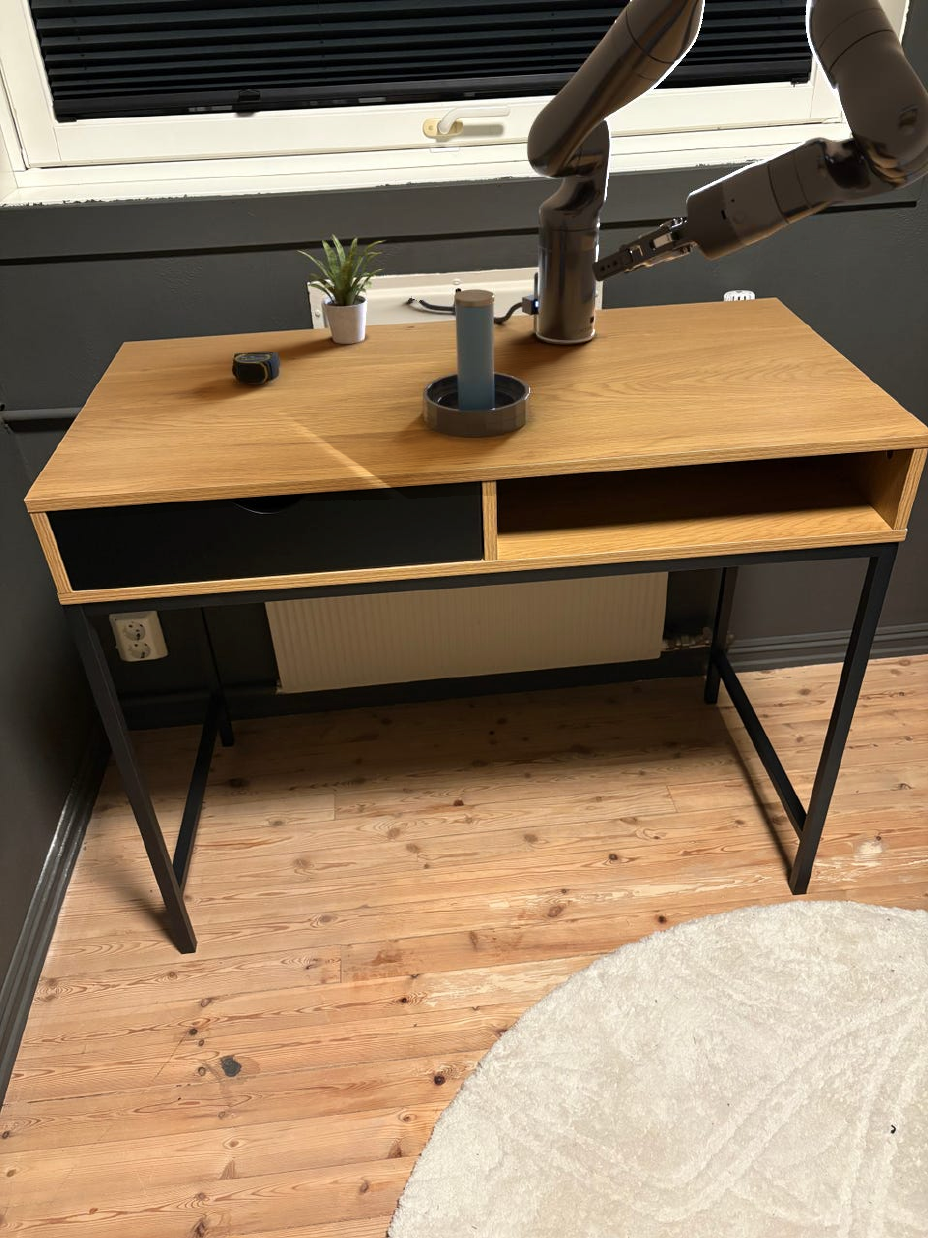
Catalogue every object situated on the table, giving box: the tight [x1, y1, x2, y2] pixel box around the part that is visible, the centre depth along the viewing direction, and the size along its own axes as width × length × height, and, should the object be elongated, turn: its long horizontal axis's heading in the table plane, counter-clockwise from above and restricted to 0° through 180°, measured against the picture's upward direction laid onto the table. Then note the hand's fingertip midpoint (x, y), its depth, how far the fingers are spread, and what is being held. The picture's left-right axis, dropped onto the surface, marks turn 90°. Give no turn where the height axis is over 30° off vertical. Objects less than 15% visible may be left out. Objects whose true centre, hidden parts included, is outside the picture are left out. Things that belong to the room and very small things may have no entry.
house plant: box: [298, 233, 387, 345], centre depth 150 cm, size 14×14×16 cm
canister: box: [453, 288, 495, 410], centre depth 122 cm, size 5×5×16 cm
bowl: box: [421, 371, 531, 438], centre depth 126 cm, size 14×14×4 cm
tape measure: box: [231, 351, 281, 385], centre depth 140 cm, size 7×7×4 cm
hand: (608, 269), depth 111 cm, fingers open, 8 cm apart
